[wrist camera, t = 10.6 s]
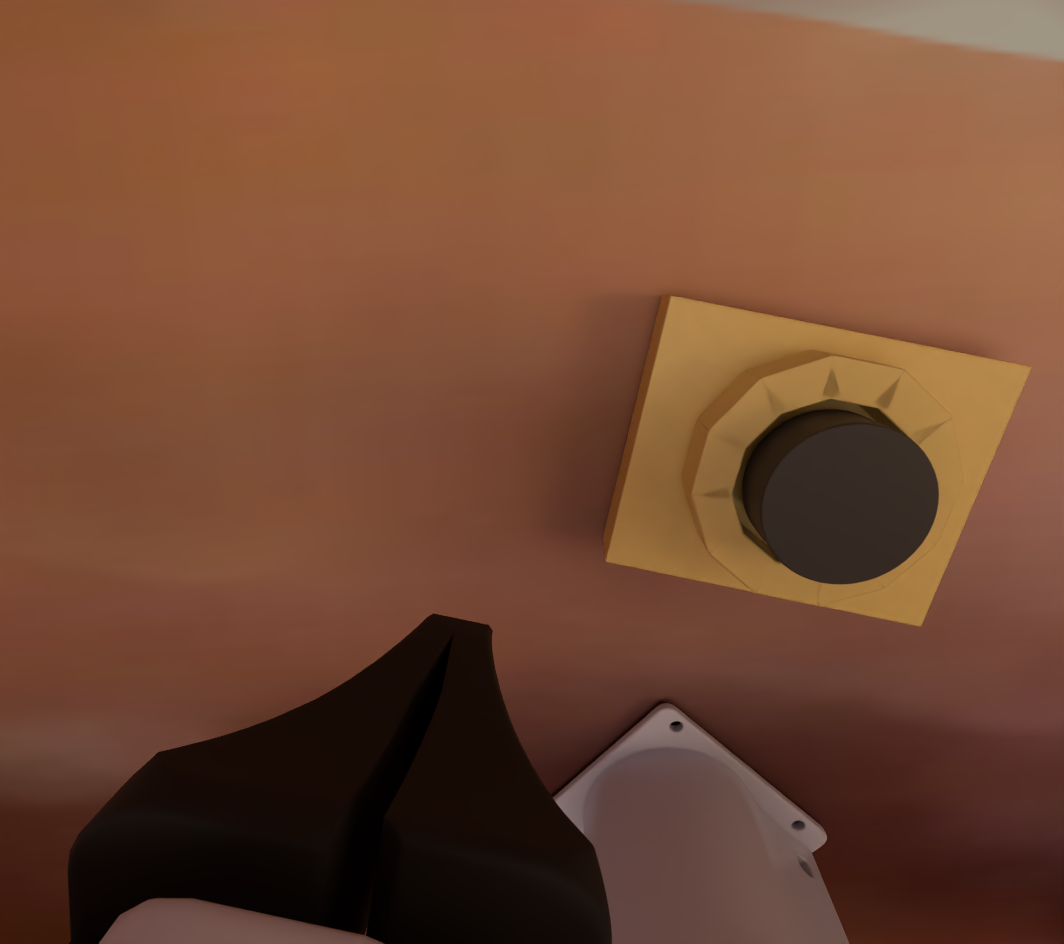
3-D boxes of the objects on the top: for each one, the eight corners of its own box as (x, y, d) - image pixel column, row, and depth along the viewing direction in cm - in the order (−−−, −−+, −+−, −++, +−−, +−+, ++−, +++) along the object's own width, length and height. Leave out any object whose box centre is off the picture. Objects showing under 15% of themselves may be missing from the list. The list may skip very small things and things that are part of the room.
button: (924, 426, 18) (967, 442, 16) (869, 568, 19) (903, 600, 17) (767, 394, 18) (790, 407, 16) (723, 538, 19) (739, 566, 17)
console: (986, 359, 20) (1080, 374, 17) (890, 596, 23) (952, 657, 19) (661, 294, 21) (679, 295, 17) (602, 537, 23) (607, 586, 19)
